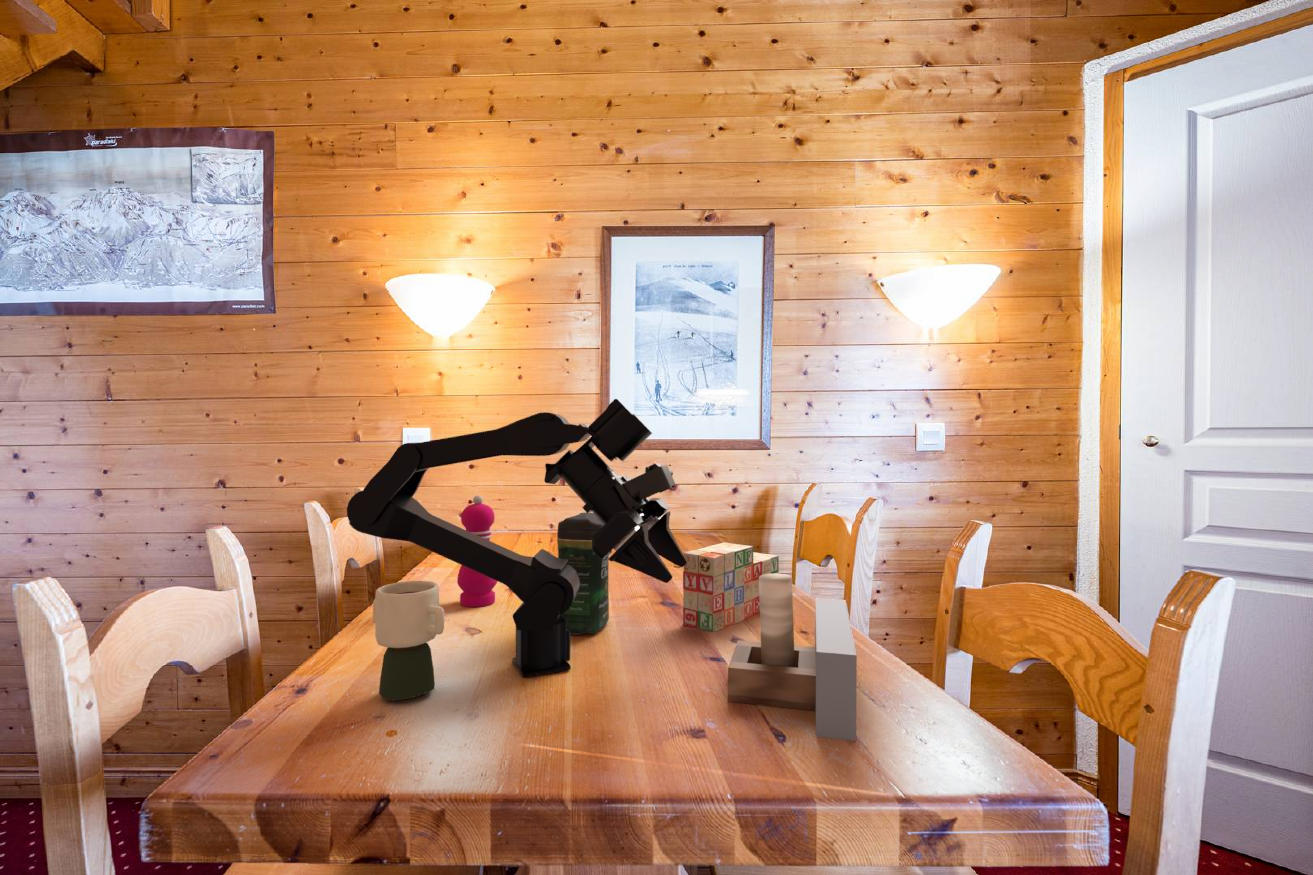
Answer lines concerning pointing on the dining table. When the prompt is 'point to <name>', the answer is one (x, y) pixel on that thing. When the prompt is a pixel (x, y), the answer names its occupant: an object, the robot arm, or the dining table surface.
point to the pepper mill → (470, 581)
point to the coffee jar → (585, 573)
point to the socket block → (772, 678)
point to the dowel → (776, 620)
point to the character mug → (407, 636)
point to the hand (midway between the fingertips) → (677, 572)
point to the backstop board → (835, 671)
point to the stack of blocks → (723, 584)
